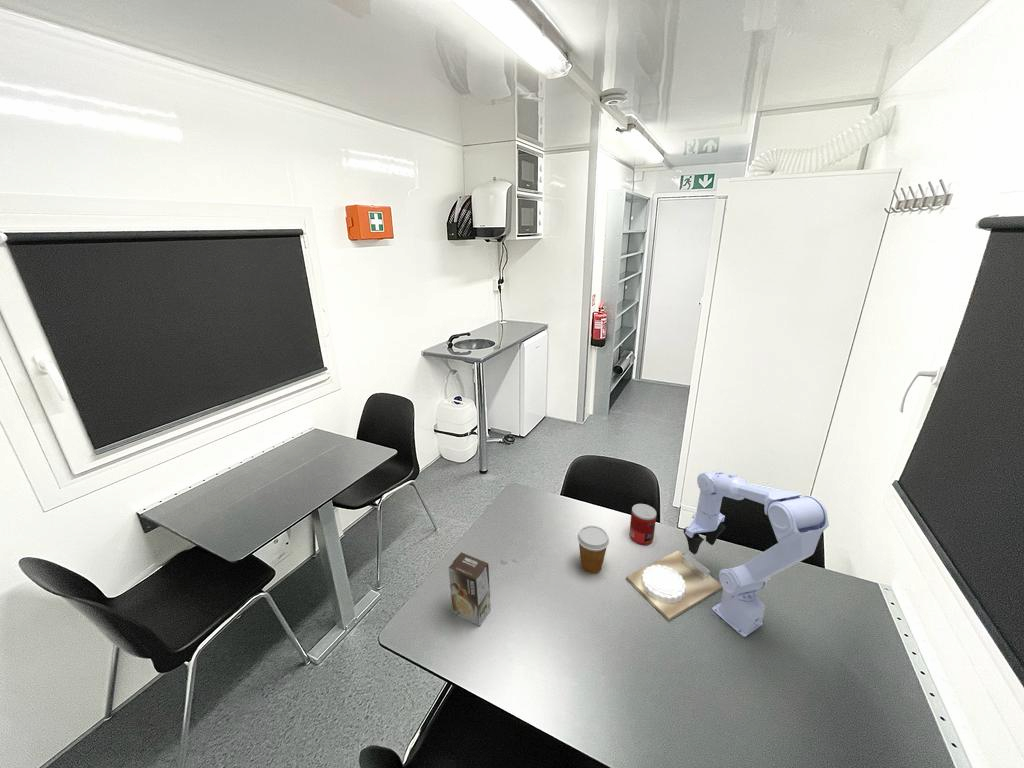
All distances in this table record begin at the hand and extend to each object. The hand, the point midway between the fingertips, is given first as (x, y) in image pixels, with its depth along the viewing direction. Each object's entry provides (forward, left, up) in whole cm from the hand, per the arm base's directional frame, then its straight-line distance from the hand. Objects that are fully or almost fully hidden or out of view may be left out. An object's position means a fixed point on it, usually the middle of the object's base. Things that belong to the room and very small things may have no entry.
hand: (701, 547), depth 118 cm
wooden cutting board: (0, +10, -9) cm, 14 cm away
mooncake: (+1, +14, -9) cm, 17 cm away
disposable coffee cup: (+17, +27, -10) cm, 33 cm away
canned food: (+19, +4, -10) cm, 22 cm away
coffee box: (+20, +66, -10) cm, 69 cm away
